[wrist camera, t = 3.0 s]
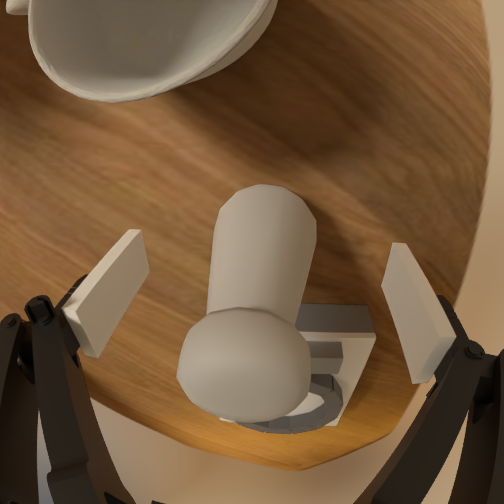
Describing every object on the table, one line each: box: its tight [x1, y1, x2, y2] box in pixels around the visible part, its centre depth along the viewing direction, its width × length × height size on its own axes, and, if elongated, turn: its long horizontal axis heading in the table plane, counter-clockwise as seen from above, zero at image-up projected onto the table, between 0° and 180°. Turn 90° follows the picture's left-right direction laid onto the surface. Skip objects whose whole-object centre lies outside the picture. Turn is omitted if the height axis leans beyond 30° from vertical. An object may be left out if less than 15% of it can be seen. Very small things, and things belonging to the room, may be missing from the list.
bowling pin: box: [177, 184, 317, 423], centre depth 14 cm, size 6×6×13 cm
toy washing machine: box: [220, 303, 376, 434], centre depth 24 cm, size 14×12×5 cm
